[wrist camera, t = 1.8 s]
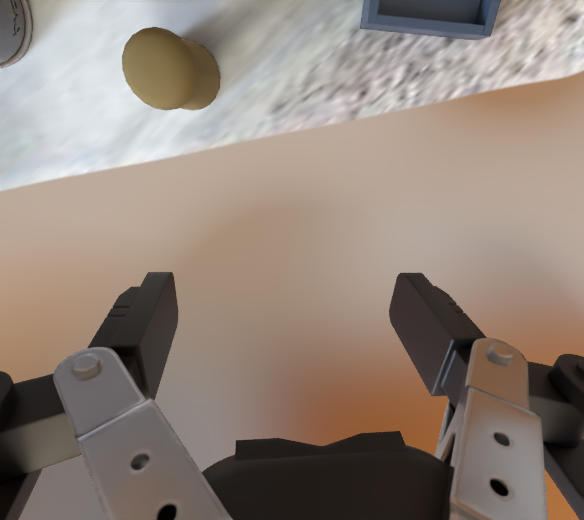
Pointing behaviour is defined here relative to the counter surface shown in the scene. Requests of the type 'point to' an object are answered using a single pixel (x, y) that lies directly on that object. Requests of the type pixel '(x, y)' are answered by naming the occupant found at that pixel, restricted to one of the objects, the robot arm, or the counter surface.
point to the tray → (432, 17)
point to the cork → (170, 70)
